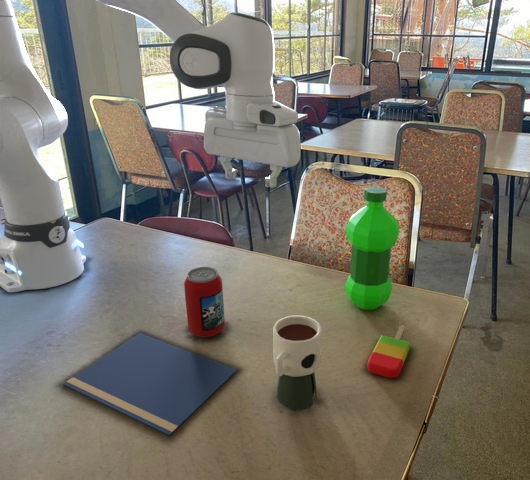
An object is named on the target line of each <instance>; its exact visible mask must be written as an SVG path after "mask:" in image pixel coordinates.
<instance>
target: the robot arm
mask: <svg viewBox="0 0 530 480" xmlns="http://www.w3.org/2000/svg"><path fill="white" fill-rule="evenodd" d="M94 1H96V2H97V3H99V4H102V5H105V6H109V7H112V8H115V9H119V10H121V11H125V12H128V13H131V14H133V15H135V16H137V17H140V18H142V19H144V20H145V21H147V22H149V23H150V24H151V25H152V26H154V27H155V28H156V29H157V30H158V31H160V32H161V33H162V34H163V35H165V36H166V37H167V38H168V39H170V41H171V42H172V43H173V44H172V46H171V47H170V51H169V66H170V69H171V71H172V74H173V75H174V77H175V78H176V79H177V80H178V82H180V83H181V84H182V85H184V86H185V87H188V88H191V89H195V90H207V89H213V88H214V89H215V88H224V89H225V90H224V92H225V106H218V105H211V106H210V107H209V108H207V110H206V111H205V114H204V116H205V117H204V118H205V120H204V121H205V123H204V132H203V149H204V151H205V153H206V154H208V155H213V156H219V162H220V165H221V166H222V168H223V170H224V175H225V176H224V177H225V179H227V180H232V181H233V180H235V179H237V169H235V168H233V165H232V163H231V161H232V160H233V159H237V160H243V161H246V162H247V161H248V162H254V163H259V164H265V165H269V170H270V171H271V173H270V175H269V176H266V177H265V179H264V181H265V187H267V188H272V189H273V188H276V187H277V182H278V179H277V178H278V177H279V175H280V174H281V172H282V170H283V168H292V167H294V166H296V165H297V164H298V163H299V162H300V161H301V135H300V131H299V128H298V127H297V125H296V123H297V122H298V120H299V113H298V112H297V111H296V110H295V109H293V108H290V107H288V106H286V105H285V104H283V103H281V102H279V101H277V100H275V90H274V87H273V86H274V85H273V76H274V72H275V43H274V34H273V30H272V27H271V25H270V24H269V23H268V22H267V20H265V19H263V18H260V17H258V16H254V15H249V14H245V13H242V12H237V11H233V12H229V13H227V14H226V15H225V16H224V17H223V18H222V19H221V20H219V21H217V22H215V23H213V24H211V25H209V26H206V25H204V23H202V22H201V21H200V20H198V19H197V18H196V17H195V16H194V15H193V14H191V12H189V11H188V9H186V8H185V7H183V6H182V4H180V3H179V2H178V1H177V0H94ZM68 126H69V118H68V113H67V111H66V109H65V107H64V106H63V104H62V103H61V102H60V101H59V100H57V99H56V98H55V97H54V96H52V95H51V94H50V93H49V92H48V90H47V88H46V87H45V86H44V84H43V82H42V81H41V80H40V78H39V76H38V75H37V73H36V71H35V69H34V68H33V66H32V63H31V61H30V58H29V55H28V53H27V50H26V47H25V44H24V40H23V38H22V34H21V31H20V28H19V25H18V22H17V18H16V16H15V12H14V9H13V6H12V3H11V0H0V201H1V205H2V208H3V212H4V216H5V218H1V219H0V221H1V225H4V226H3V236H2V237H0V287H1V288H2V289H3V290H4V291H6V292H7V293H18V292H22V291H28V290H29V291H30V290H45V289H49V288H54V287H58V286H61V285H65V284H67V283H70V282H71V281H74V280H75V279H77V278H79V277H80V276H81V275H82V274H83V273H84V271H85V266H84V265H85V263H86V261H87V257H86V255H84V254H82V253H81V250H80V248H82V249H83V248H84V247H85V245H84V243H83V242H81V241H80V240H79V239H78V238H77V236H76V233H75V231H74V230H73V229H72V228H71V224H70V217H69V214H68V212H67V211H66V210H65V206H64V201H63V196H62V191H61V186H60V182H59V179H58V177H57V176H56V175H55V174H54V173H52V172H50V171H48V170H47V169H46V168H45V166H44V165H43V162H42V161H41V159H40V157H39V154H38V149H40V148H41V149H42V148H44V147H46V146H49V145H51V144H53V143H54V142H55V141H57V140H58V139H59V138H60V137H61V136H62V135H64V133H65V132H66V130H67V129H68Z"/></svg>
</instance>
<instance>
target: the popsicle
mask: <svg viewBox="0 0 530 480" xmlns="http://www.w3.org/2000/svg"><path fill="white" fill-rule="evenodd" d="M405 329H406V325H402V324H400V325H399V327H398V329H397V331H396V333H395V335H394V337H391V336H387V335H383V334H381V335H380V337H379V339H378V341H377V343H376V345H375V346H374V349H373V350H372V353H370V356H369V358H368V361H367V370H368V372H370V373H371V374H374V375H378V376H381V377H384V378H385V377H386V378H388V379H396V378H398V377H399V376H400V373H401V372H402V369H403V366H404V363H405V361H406V359H407V356H408V354H409V351H410V350H411V349H410V348H411V342H409V341H406V340H403V339H401V338H402V335H403V333H404V331H405Z"/></svg>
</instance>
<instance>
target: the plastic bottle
mask: <svg viewBox="0 0 530 480" xmlns="http://www.w3.org/2000/svg"><path fill="white" fill-rule="evenodd" d="M363 194H364V195H363V200H365V201H366V204H365V206H363V207H361V208H360V209H359V210H358V211H356V212H355V213H354V214H352V215H351V217H350V218H349V220H348V222H347V224H346V226H345V235H346V240H347V241H348V242H349V243H350V244H351V251H350V252H351V254H350V271H349V275H348V277H347V279H346V282H345V283H344V292H345V295H346V296H347V297H348V298H349V300H350V301H351V302H352V303H353V304H354V305H355V307H357V308H358V309H362V310H365V311H369V310H371V311H374V310H375V309H378V308H379V307H380V306H382V305H384V304H386V303H387V302H388V301H389V299H390V297H391V294H392V290H393V283H392V280H391V278H390V276H389V275H390V264H391V263H390V262H391V255H392V248H393V247H395V246H396V245H397V240H398V238H399V236H400V235H399V234H400V224H399V220H398V219H397V218H395V216H394V215H393V214H392V213H390V212H389V211H388V210H387V209H386V208H385V207H384V202H386V201H387V195H388V189H386V188H384V187H381V186H368V187H365V189H364V193H363Z"/></svg>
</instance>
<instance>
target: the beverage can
mask: <svg viewBox="0 0 530 480" xmlns="http://www.w3.org/2000/svg"><path fill="white" fill-rule="evenodd" d="M223 285H224V284H223V279H222V277H221V275H220V274H219V273H218V270H217V269H216V268H214V267H210V266H200V267H195V268H193V269H191V270H189V271H188V272H187V274H186V278H185V280H184V282H183V286H184V298H185V299H184V300H185V307H186V309H185V310H186V318H187V327H188V332H189V333H190V334H192V335H193V336H196V337H200V338H210V337H213V336H214V337H215V336H216V335H217V334H219V333H221V332H222V331H223V330H224V328H225V325H226V322H225V321H226V320H225V319H226V318H225V303H224V301H225V300H224V286H223Z"/></svg>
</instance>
